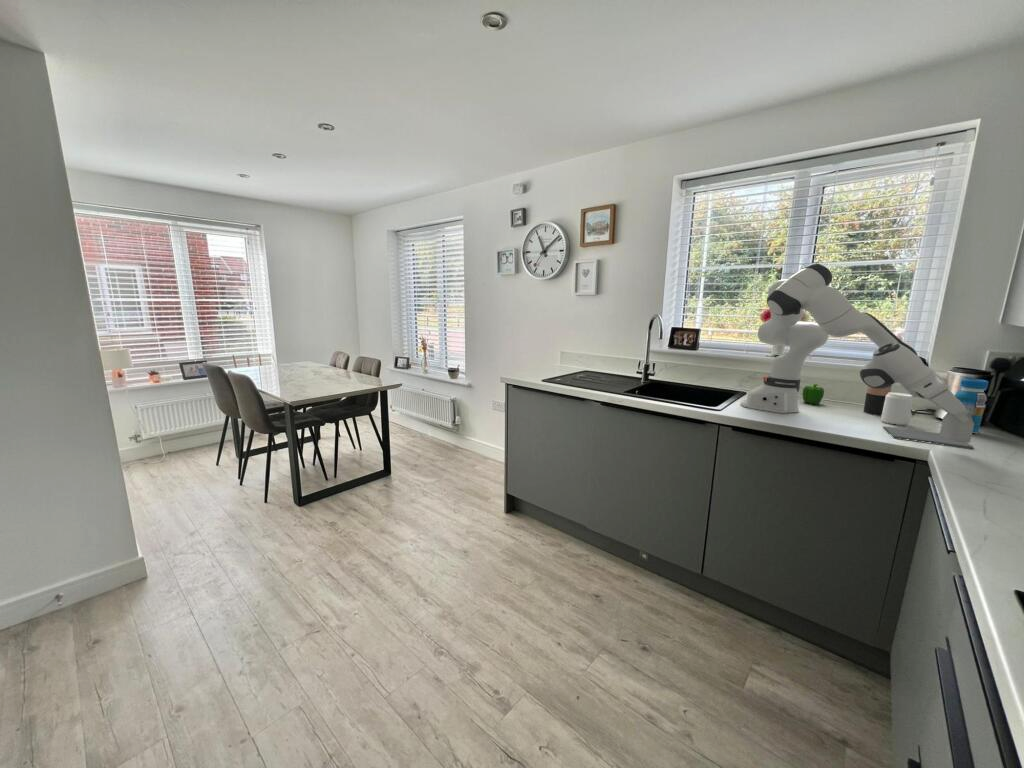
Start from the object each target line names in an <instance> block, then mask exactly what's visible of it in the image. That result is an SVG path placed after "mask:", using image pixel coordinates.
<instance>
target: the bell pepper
mask: <svg viewBox="0 0 1024 768" xmlns="http://www.w3.org/2000/svg"><path fill="white" fill-rule="evenodd" d="M824 394H825V390H824V387H819V384H818V383H816V382H815V383H814V384H813V385H812V386H811V385H805V387H803V389H802V400H803V402H804V403H806V404H811V405H818V404H820V403H821V401H822V399H823V397H824V396H825V395H824Z"/></svg>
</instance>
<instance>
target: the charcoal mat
mask: <svg viewBox="0 0 1024 768" xmlns="http://www.w3.org/2000/svg"><path fill="white" fill-rule="evenodd" d="M883 428H884V429H885V430H886V431H887V432H886V431H885V430H884V429H883ZM882 429H883V430H884V431H885V432H886V433H888V434H889V435H890V434H891V435H892V436H893V437H894V438H893V437H892V436H891V435H890V436H891V437H892V438H893V439H896V438H901V439H900V440H903V439H909V440H908V441H910V440H917V441H916V442H918V441H924V442H923V443H925V442H931V443H930V444H932V443H938V444H937V445H939V444H944V445H943V446H947V445H950V446H949V447H954V446H955V448H956V447H957V448H961V447H962V448H963V449H968V448H969V449H968V450H974V446H973V445H972V444H971V443H969V442H955V441H953V440H950V439H948V438H946V437H944V436H941V435H940V432H939V433H938V432H933V431H924V430H923V431H922V430H916V429H908V428H902V427H901V428H900V427H894V426H893V427H891V426H882Z"/></svg>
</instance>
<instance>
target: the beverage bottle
mask: <svg viewBox="0 0 1024 768" xmlns="http://www.w3.org/2000/svg"><path fill="white" fill-rule="evenodd" d="M988 386H989V380H984V379H980V378H965V377H964V378H962V379H961V381H960V388H961V389H959V390H958V391H956V393H955V394H954V395H955V396H956V398H957V399H958V400H959V401H960V402H961V403H962V404H963V405H964V407H965V408H966V410H967V411H970V412H971V417H972V420H973V423H974V427H973V432H972V433H977V434H978V433H979V432H980V426H981V423H982V420H983V415H984V412H985V410H986V408H987V404H986V402H987V401H988V397H987V394H986V393H985V391H987V389H988Z"/></svg>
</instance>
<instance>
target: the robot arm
mask: <svg viewBox="0 0 1024 768" xmlns="http://www.w3.org/2000/svg"><path fill="white" fill-rule="evenodd" d="M832 281H833V274H832V271H831V270H830V269H829V268H828V267H827V266H826V265H824V264H821V263H816V262H813V263H811V264H808V265H806V266H804V267H803V268H802V269H801V270H799V271H797V272H796V273H795V274H793V275H791V276H790V277H788V278H787V279H779V280H777V281H775V282H773V283H772V284H771V285H769V288H768V293H767V298H766V303H767V307H768V309H769V311H770V319H768V320H767V321H764V322H763V323H762V324H761V325H759V327H758V330H757V338H758V340H759V341H760V343H761V344H762V343H763V344H767V345H770V346H775V347H776V346H777V347H789V350H788V351H787V352H786V353H784V354H780V355H777V356H776V357H774V358H773V360H772V361H771V367H770V368H771V369H770V375H769V376H767V375H764V376H762V380H763V384H761V385H758V386H757V387H755V388H753V389H751V390H749V392H748V394H747V396H746V399H743V400H741V401H740V406H742V407H744V408H748V409H753V410H760V411H765V412H766V411H767V412H773V413H780V414H787V413H798V412H800V409H799V399H798V398H799V392H800V388H801V383H802V382H801V373H802V370H803V366H804V362H805V360H807V357H808V356H809V355H810V354H812V352H814V351H815V350H817V349H819V348H821V347H822V346H824V344H826V343H827V341H828V339H829V336H831V337H834V338H835V337H836V338H844V337H848V336H851V335H852V336H853V335H855V334H859V333H861V334H864V335H865V336H866V337H867V338H869V340H870V341H872V342H873V343H874V344H875V345H876V346H877V347H878V348H877V349H876V350H875V351H874V352H873V353H872V358H871V359H870V360H869V362H868V363H866V364H864V365H865V366H864V367H862V369H861V370H860V371H859V378H860V379H861V381H862V382H863V383H864V384H865V385H867V387H868V386H870V387H872V388H876V389H883V388H887V387H889V386H891V385H894V384H896V383H898V384H899V385H900V386H901V387H902V388H903V389H905V391H907V393H908V394H910V395H912V397H913V398H921V399H923V400H927V402H929V403H931V404H932V405H934V406H936V407H937V408H939V409H940V410H943V412H945V413H946V414H947V413H949V414H950V415H952V416H956V417H957V418H958V419H959V420H960V421H961V422H966V421H968V420H969V418H968V417H967V416H965V414H964V413H963V412H964V411H965V410H966V408H965V407H964V405H963V404H962V403H961V402H960V401H959V400H958V399H957V398H956V396H955V394H954V393H953V391H951V390H950V389H949V388H950V386H949V385H948V384H947V383H946V382H945V379H943V378H942V377H941V376H940V375H939V374H938V373H937V372H936V371H934V369H932V368H931V367H929V366H927V365H926V364H925V363H924V362H923V360H922V359H921V357H919V356H918V353H917V351H916V350H915V349H914V347H912V346H910V345H909V344H907V343H905V342H904V341H902V340H901V339H900V338H899V337H898V336H897V335H896V334H894V333H893V332H892V331H891V330H890V329H889V328H887V326H885V324H883V323H882V322H881V321H880V320H879V319H878V318H877V317H875V316H874V315H872V314H870V313H869V312H864V311H862V312H861V311H860V310H858V309H857V308H856V307H855V306H854V305H853V304H852V303H851V302H850V300H849V299H848V298H847V297H846V296H845V295H844V294H842V292H840V291H839V290H838V289H836V287H834V286H832V285H831V283H832ZM804 310H805V311H806V312H808V313H809V314H810V315H811V317H812V318H813V319H814V321H815V322H812V321H800V320H802V318H803V317H804Z"/></svg>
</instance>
